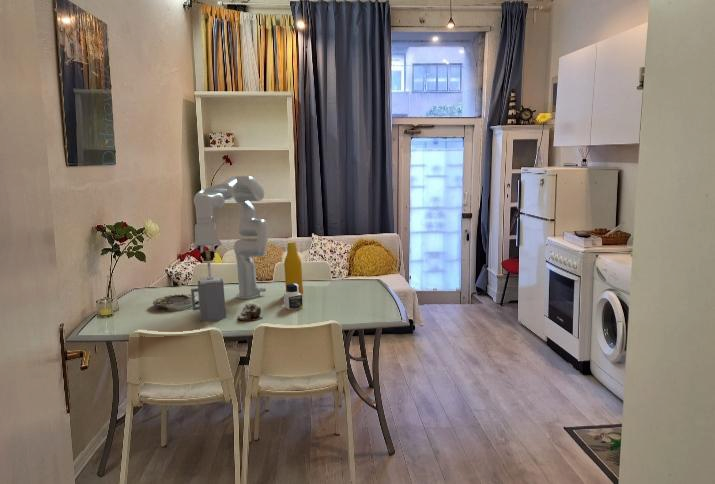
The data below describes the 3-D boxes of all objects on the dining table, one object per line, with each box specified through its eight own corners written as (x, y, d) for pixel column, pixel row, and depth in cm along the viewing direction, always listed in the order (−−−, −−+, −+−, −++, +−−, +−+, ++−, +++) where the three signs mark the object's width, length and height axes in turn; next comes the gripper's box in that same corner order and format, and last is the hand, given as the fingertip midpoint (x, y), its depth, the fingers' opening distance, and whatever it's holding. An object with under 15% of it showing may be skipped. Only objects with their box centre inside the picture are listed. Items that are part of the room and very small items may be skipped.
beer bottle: (298, 297, 293) (295, 244, 288) (283, 296, 296) (279, 243, 291) (306, 293, 302) (303, 241, 297) (290, 292, 305) (287, 240, 300)
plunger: (220, 295, 267) (216, 248, 263) (221, 299, 259) (217, 251, 255) (202, 297, 264) (198, 250, 260) (202, 302, 256) (198, 253, 252)
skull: (241, 321, 252) (236, 302, 257) (239, 331, 260) (233, 312, 265) (267, 316, 257) (261, 297, 262) (263, 326, 265) (258, 307, 270)
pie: (166, 317, 268) (165, 308, 267) (135, 310, 284) (134, 300, 283) (213, 303, 289) (212, 294, 289) (182, 297, 306) (181, 288, 305)
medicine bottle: (289, 310, 270) (288, 286, 268) (284, 307, 276) (283, 283, 274) (303, 308, 273) (301, 284, 271) (297, 304, 280) (296, 281, 278)
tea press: (225, 313, 270) (221, 275, 267) (226, 319, 259) (223, 280, 256) (193, 316, 266) (190, 278, 263) (193, 323, 255) (190, 283, 252)
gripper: (222, 218, 261) (225, 256, 264) (186, 221, 256) (190, 260, 259) (223, 220, 254) (226, 259, 257) (186, 223, 249) (190, 263, 252)
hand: (208, 259), depth 258 cm, fingers closed on plunger, 3 cm apart
